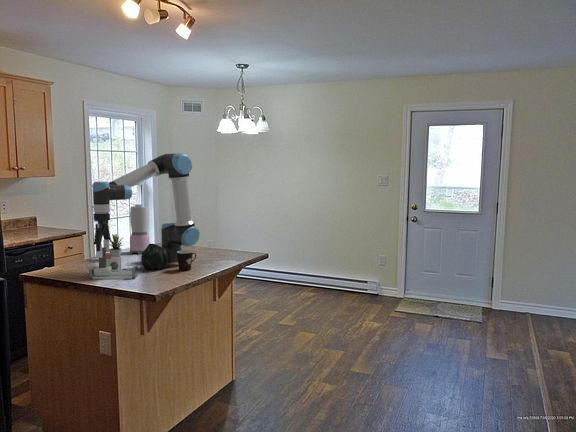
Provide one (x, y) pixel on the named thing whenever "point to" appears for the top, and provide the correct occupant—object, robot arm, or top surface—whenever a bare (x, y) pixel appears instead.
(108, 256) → the button
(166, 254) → the squash
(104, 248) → the carriage
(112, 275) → the rail base
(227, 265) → the top surface
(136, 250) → the blender
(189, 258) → the coffee mug
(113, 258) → the gauge cabinet
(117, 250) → the house plant
